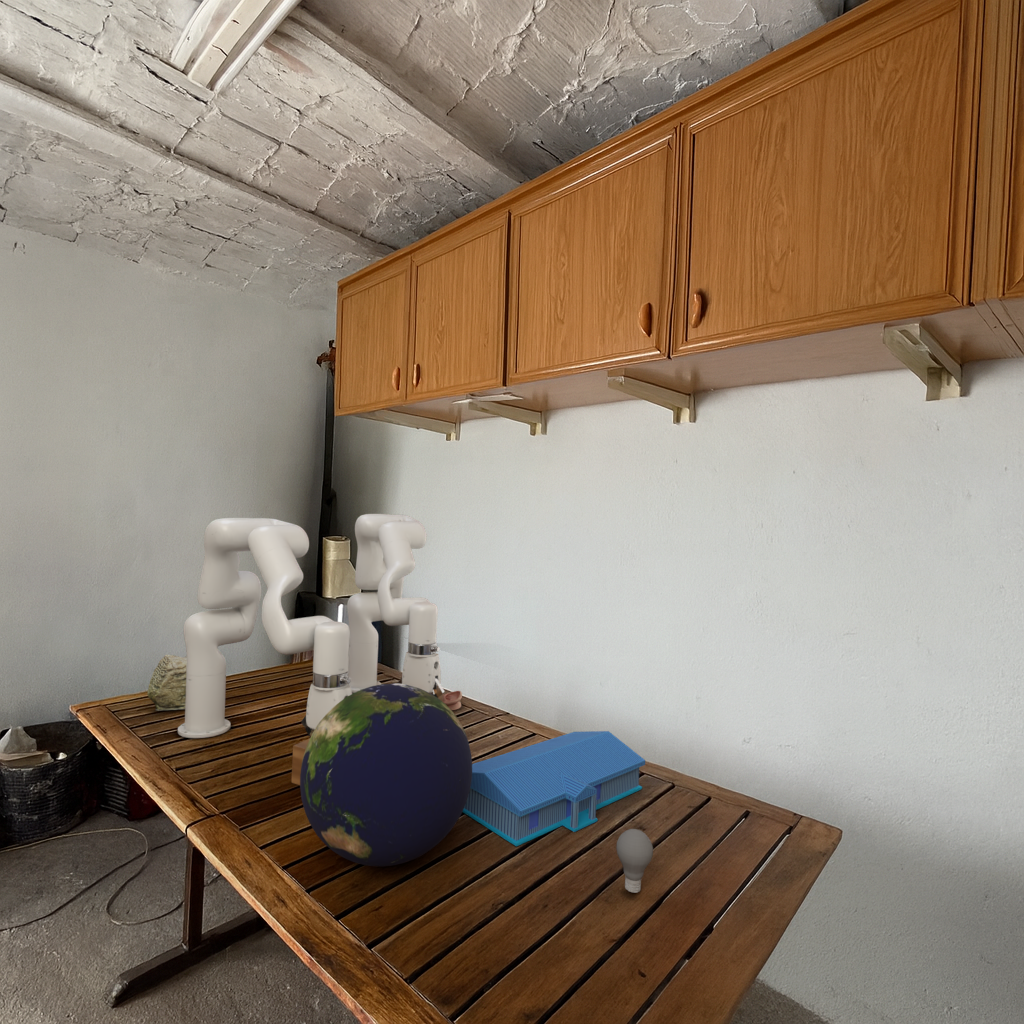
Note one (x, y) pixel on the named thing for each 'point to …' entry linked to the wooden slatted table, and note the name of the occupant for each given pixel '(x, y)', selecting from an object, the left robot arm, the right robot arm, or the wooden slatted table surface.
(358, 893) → the wooden slatted table surface
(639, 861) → the light bulb
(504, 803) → the model building
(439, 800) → the globe
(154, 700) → the fossil
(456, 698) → the anatomical model
